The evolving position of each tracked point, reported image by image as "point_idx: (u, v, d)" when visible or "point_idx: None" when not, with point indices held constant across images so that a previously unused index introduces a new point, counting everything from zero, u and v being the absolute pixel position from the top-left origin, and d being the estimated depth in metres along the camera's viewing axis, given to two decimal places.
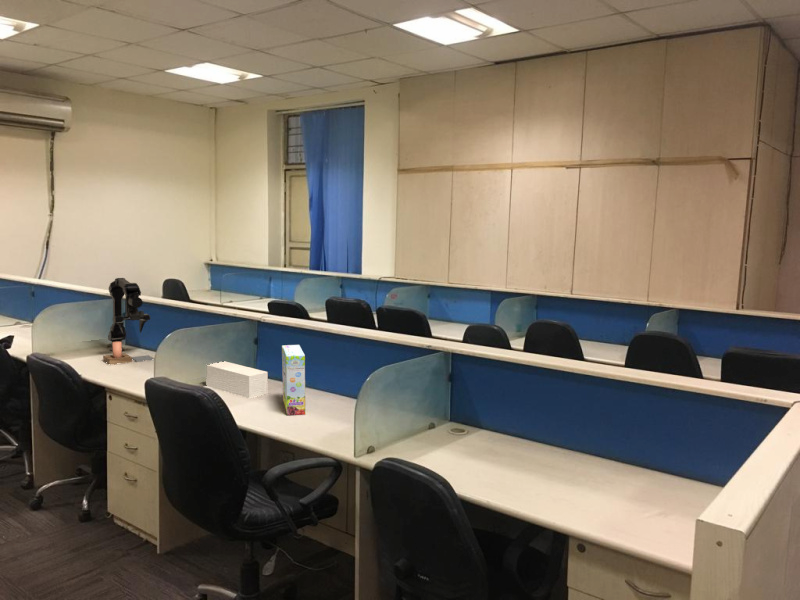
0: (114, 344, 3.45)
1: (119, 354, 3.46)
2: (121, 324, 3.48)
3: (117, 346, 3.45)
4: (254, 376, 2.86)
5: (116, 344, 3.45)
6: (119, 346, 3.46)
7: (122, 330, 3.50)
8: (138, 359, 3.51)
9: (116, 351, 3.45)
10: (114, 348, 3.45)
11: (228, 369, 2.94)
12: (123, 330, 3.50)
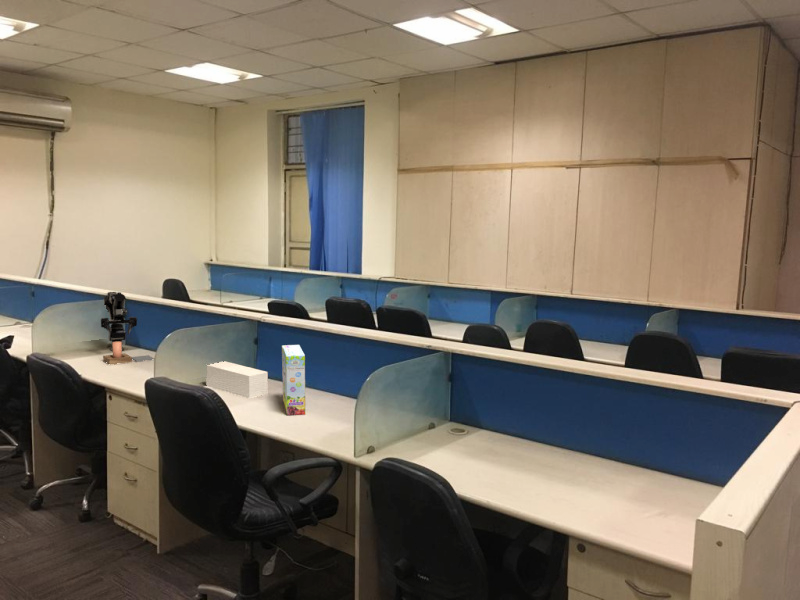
0: (114, 344, 3.45)
1: (119, 354, 3.46)
2: (107, 324, 3.55)
3: (117, 346, 3.45)
4: (254, 376, 2.86)
5: (116, 344, 3.45)
6: (119, 346, 3.46)
7: (108, 330, 3.54)
8: (138, 359, 3.51)
9: (116, 351, 3.45)
10: (114, 348, 3.45)
11: (228, 369, 2.94)
12: (110, 330, 3.54)
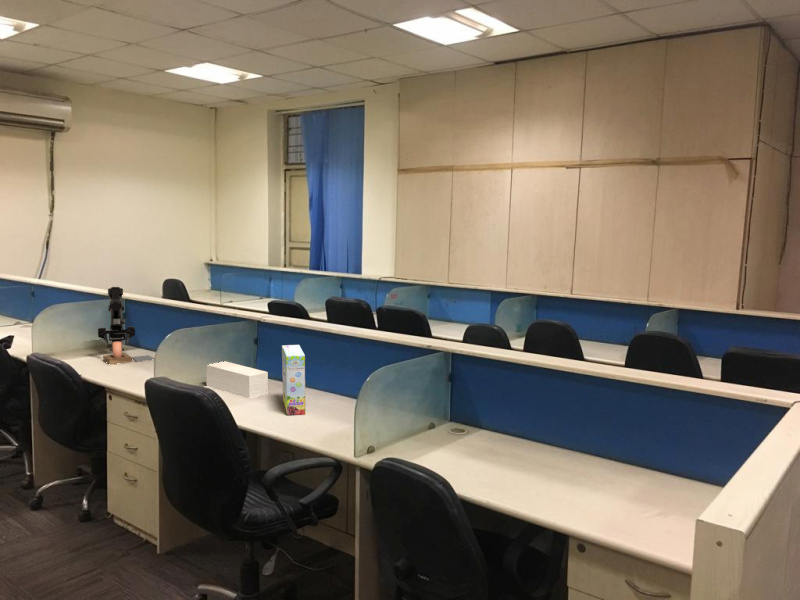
0: (114, 344, 3.44)
1: (119, 354, 3.46)
2: (104, 334, 3.47)
3: (117, 346, 3.45)
4: (254, 376, 2.86)
5: (116, 344, 3.45)
6: (119, 346, 3.46)
7: (106, 340, 3.46)
8: (138, 359, 3.51)
9: (116, 351, 3.45)
10: (114, 348, 3.45)
11: (228, 369, 2.94)
12: (107, 340, 3.47)
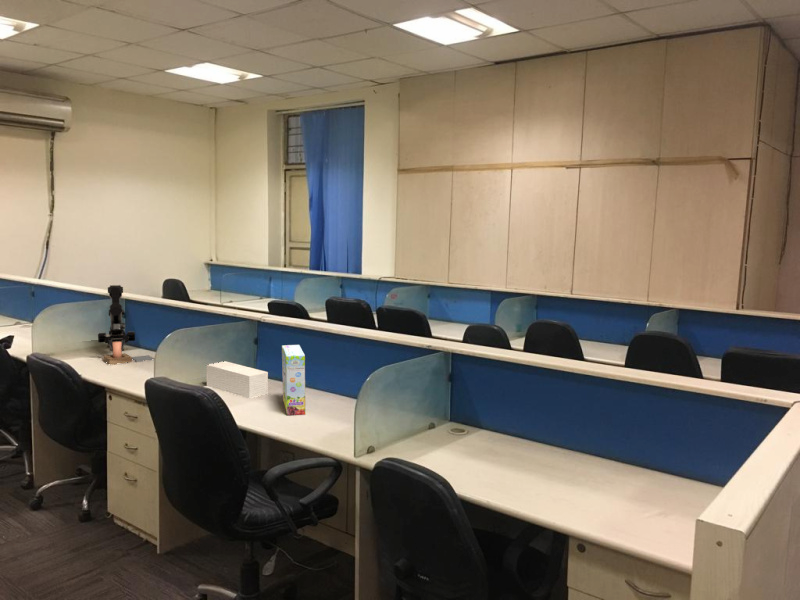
0: (114, 344, 3.45)
1: (119, 354, 3.46)
2: (109, 339, 3.46)
3: (117, 346, 3.45)
4: (254, 376, 2.85)
5: (116, 344, 3.45)
6: (119, 346, 3.46)
7: (110, 345, 3.45)
8: (138, 359, 3.51)
9: (116, 351, 3.45)
10: (114, 348, 3.45)
11: (228, 369, 2.94)
12: (111, 345, 3.45)
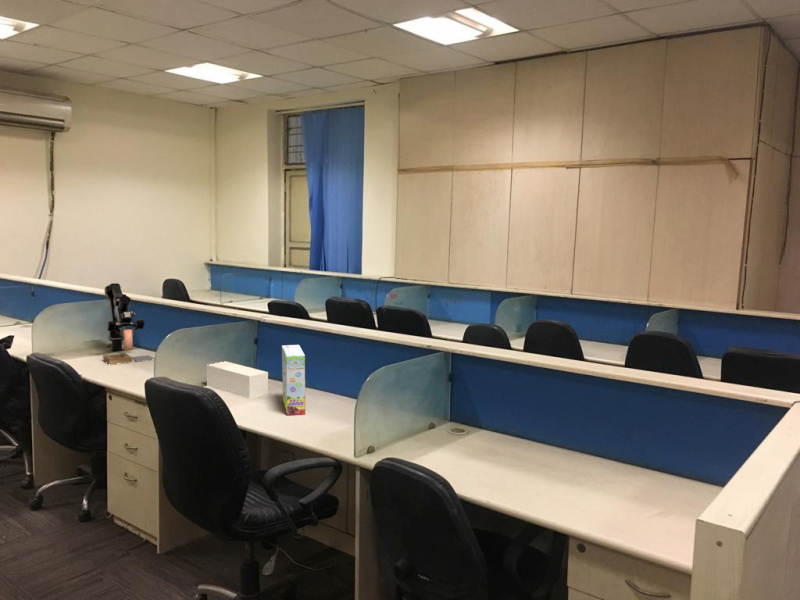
0: (126, 332, 3.47)
1: (130, 342, 3.48)
2: (119, 327, 3.47)
3: (129, 334, 3.47)
4: (254, 376, 2.85)
5: (128, 332, 3.47)
6: (130, 334, 3.48)
7: (121, 333, 3.47)
8: (138, 359, 3.51)
9: (128, 339, 3.47)
10: (126, 336, 3.47)
11: (229, 369, 2.94)
12: (123, 333, 3.47)
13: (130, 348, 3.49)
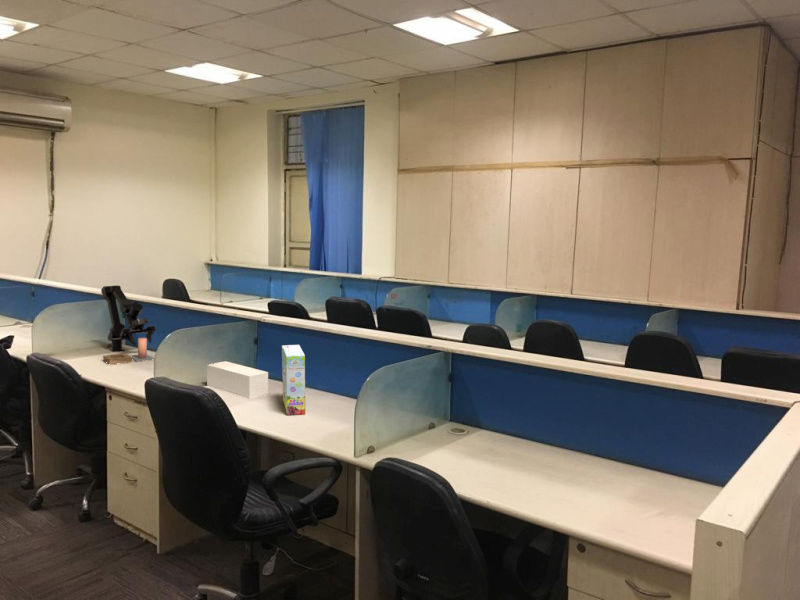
0: (141, 340, 3.52)
1: (145, 350, 3.54)
2: (130, 334, 3.50)
3: (144, 342, 3.53)
4: (254, 376, 2.85)
5: (143, 340, 3.52)
6: (146, 342, 3.54)
7: (133, 340, 3.50)
8: (138, 359, 3.51)
9: (143, 347, 3.53)
10: (141, 344, 3.52)
11: (229, 369, 2.94)
12: (134, 340, 3.50)
13: (145, 356, 3.55)
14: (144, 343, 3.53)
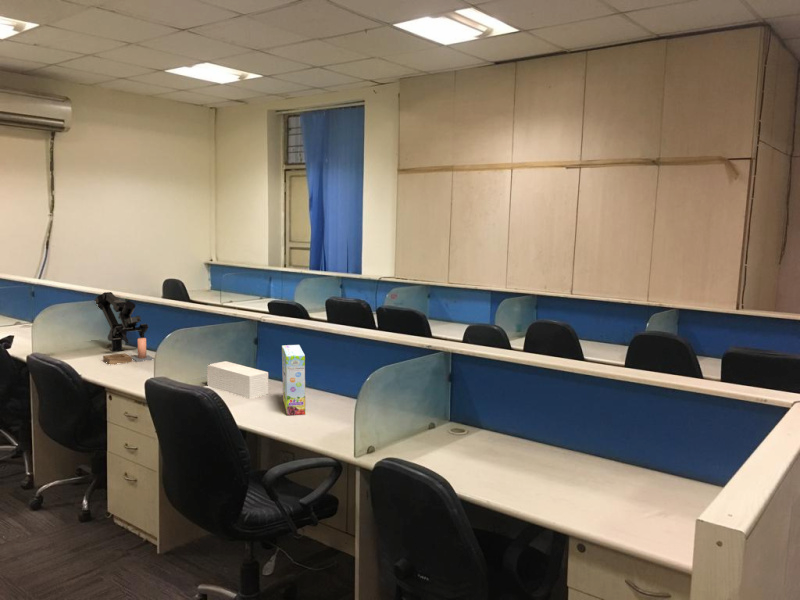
0: (141, 340, 3.52)
1: (145, 350, 3.54)
2: (122, 332, 3.56)
3: (144, 342, 3.53)
4: (254, 376, 2.85)
5: (143, 340, 3.52)
6: (145, 342, 3.54)
7: (125, 338, 3.56)
8: (138, 359, 3.51)
9: (143, 347, 3.53)
10: (141, 344, 3.52)
11: (229, 369, 2.94)
12: (126, 338, 3.56)
13: (145, 356, 3.55)
14: (143, 343, 3.53)
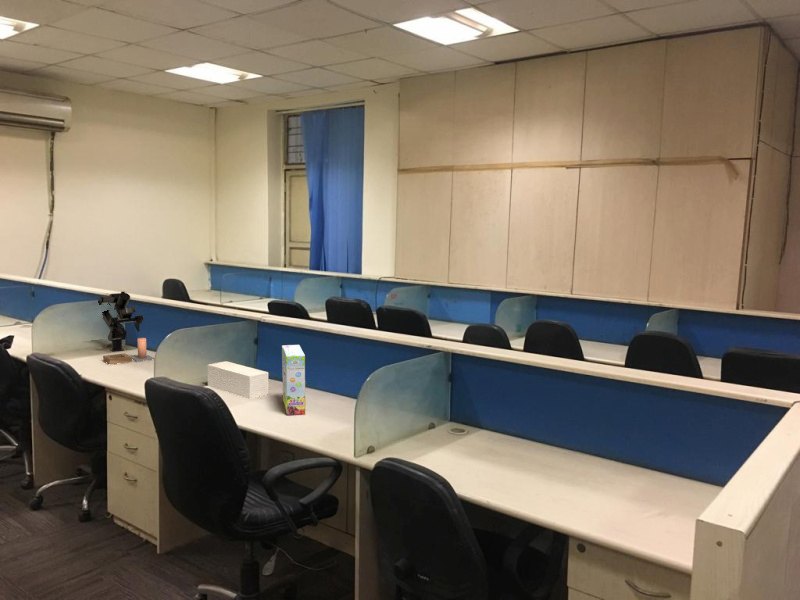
0: (141, 340, 3.52)
1: (145, 350, 3.54)
2: (118, 323, 3.59)
3: (144, 342, 3.53)
4: (254, 376, 2.85)
5: (143, 340, 3.52)
6: (145, 342, 3.54)
7: (120, 329, 3.59)
8: (138, 359, 3.51)
9: (143, 347, 3.53)
10: (141, 344, 3.52)
11: (229, 369, 2.94)
12: (121, 329, 3.59)
13: (145, 356, 3.55)
14: (143, 343, 3.53)
